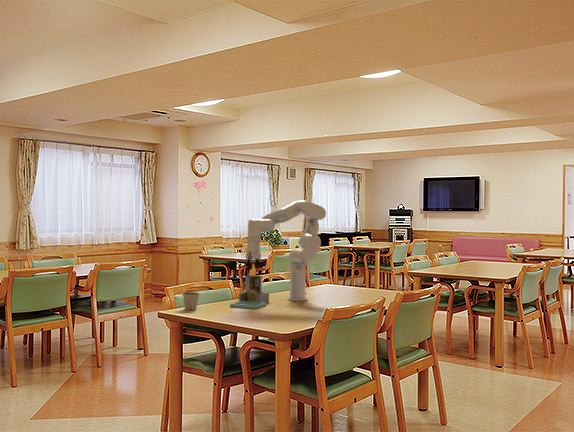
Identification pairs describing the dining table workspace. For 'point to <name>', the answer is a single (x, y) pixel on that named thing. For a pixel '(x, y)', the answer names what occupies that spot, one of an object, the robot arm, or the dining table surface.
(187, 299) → the flower pot
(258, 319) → the dining table surface
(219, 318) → the dining table surface
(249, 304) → the tray
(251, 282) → the coffee box
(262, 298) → the bay
